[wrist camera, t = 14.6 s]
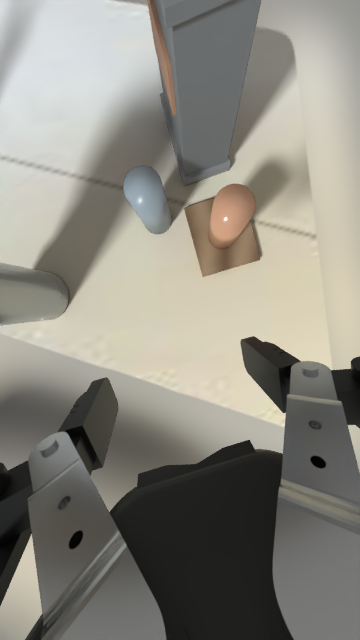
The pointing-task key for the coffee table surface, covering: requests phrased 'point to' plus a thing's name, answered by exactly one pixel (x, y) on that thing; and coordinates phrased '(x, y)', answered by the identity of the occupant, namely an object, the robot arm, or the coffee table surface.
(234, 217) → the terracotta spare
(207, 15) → the post
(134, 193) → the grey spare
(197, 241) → the pad
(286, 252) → the coffee table surface
